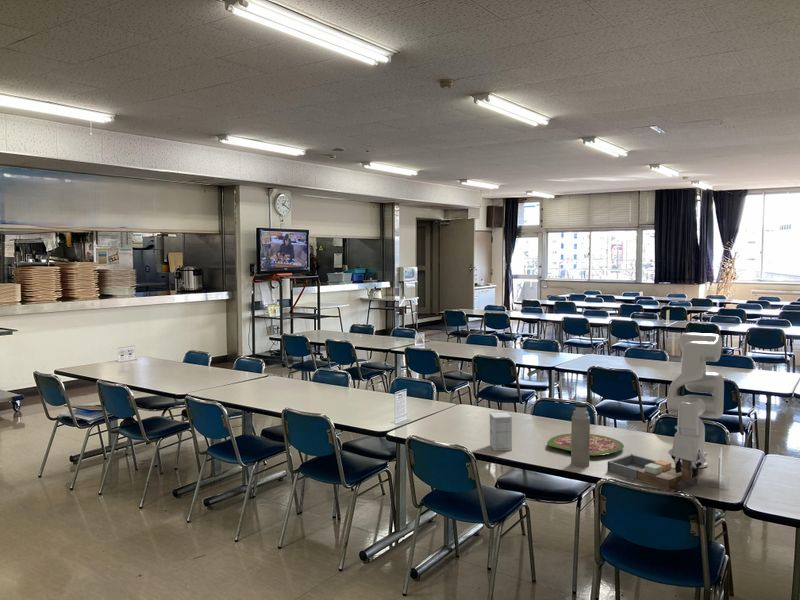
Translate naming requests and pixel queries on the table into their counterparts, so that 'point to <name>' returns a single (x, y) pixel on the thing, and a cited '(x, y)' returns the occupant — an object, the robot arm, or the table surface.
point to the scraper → (686, 477)
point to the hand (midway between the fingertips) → (686, 474)
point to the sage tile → (653, 468)
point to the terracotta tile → (663, 464)
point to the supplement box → (500, 431)
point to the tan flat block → (661, 478)
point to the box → (628, 466)
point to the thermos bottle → (580, 437)
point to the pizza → (597, 444)
